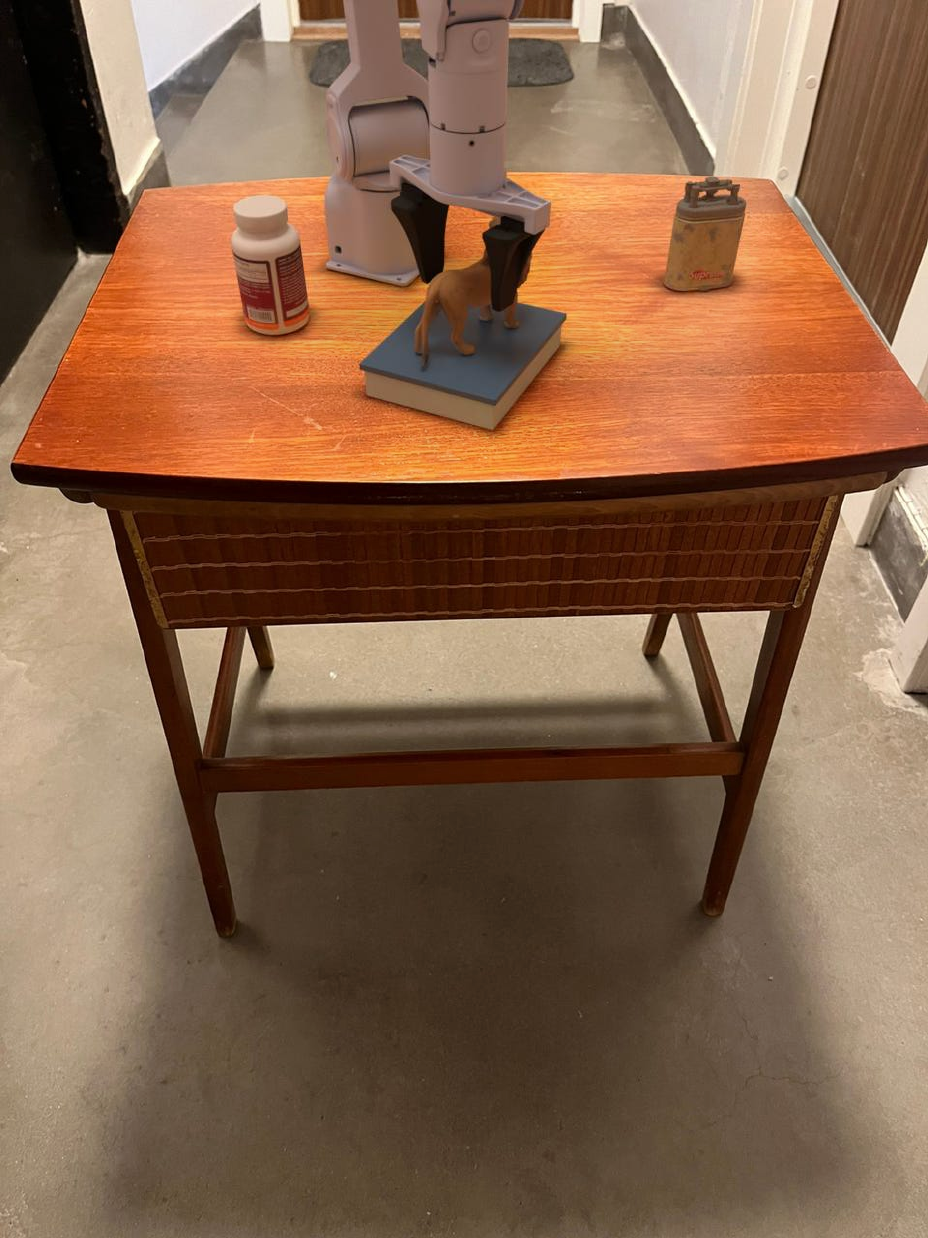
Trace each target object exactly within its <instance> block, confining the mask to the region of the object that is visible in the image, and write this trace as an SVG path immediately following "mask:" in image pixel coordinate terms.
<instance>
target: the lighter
mask: <svg viewBox="0 0 928 1238" xmlns="http://www.w3.org/2000/svg"><path fill="white" fill-rule="evenodd" d="M740 187H741V183H733V180H732V179H729V178H726V179H719V177H717V176H707V177H705V179H704V180H701V181H695V182H693V181H691V180H689V181H687V182H686V183H685V184H684V196H683V198H682V199H680V200H679V201H678V202H677V203H676V208H675V209H676V210H675V213H674V215H673V221H672V228H671V235H670V241H669V246H668V252H667V259H666V266H665V273H664V277H663V280H662V281H663V285H664V286H666V288H668V289H670V290H674V291H679V292H687V291H701V292H706V291H709V290H711V289H717V288H725V287H727V286H730V285H731V284H732V283H733V275H734V272H735V271H734V270H735V266H736V260H737V256H738V251H739V246H740V241H741V237H742V233H743V227H744V223H745V219H746V218H745V217H746V213H745V212H746V207H747V200H746V199H745V198H743V197H741V196H738V195H739V194H738V193H739V192H740ZM723 190H724V191H725V190H727V191H728V192H730V194H717V193H718V192H719V191H723ZM704 192H705V194H704V195H702V196H700V193H704ZM716 194H717V195H716Z"/></svg>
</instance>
